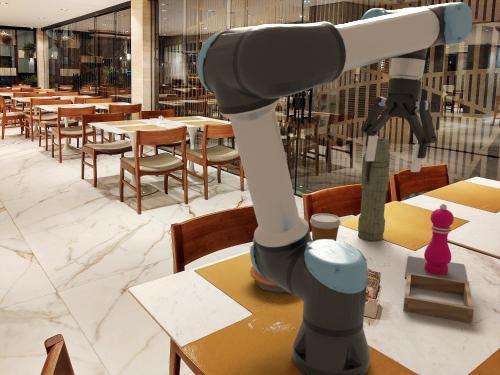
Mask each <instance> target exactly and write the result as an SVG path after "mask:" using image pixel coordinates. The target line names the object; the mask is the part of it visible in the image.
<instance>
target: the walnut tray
mask: <svg viewBox="0 0 500 375" xmlns="http://www.w3.org/2000/svg"><path fill="white" fill-rule="evenodd" d="M405 280H406V282H405V291H404V297H403V298H404V299H403V309H402V310H403V311H404V312H410V313H415V314H419V313H420V314H419V315H425V316H431V317H436V318H441V319H446V318H447V320H452V319H453V321H457V320H458V322H463V323H469V324H472V323H473V316H474V312H475V310H474V309H475V308H474V303H473V298H472V292H471V286H470V283H469V281H467V282H466V281H459V280H453V279H447V278H440V277H434V276H427V275H421V274H414V273H408V272H407V279H405ZM411 287H412V288H416V289H422V288H423V290H429V291H435V292H442V293H447V294H454V295H460V296H462V298H463V305H461V304H457V303H450V302H444V301H438V300H433V299H432V300H431V299H428V298H421V297H417V296H416V297H414V296H410V292H411V291H410V288H411Z"/></svg>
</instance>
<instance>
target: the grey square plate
mask: <svg viewBox="0 0 500 375" xmlns="http://www.w3.org/2000/svg"><path fill="white" fill-rule="evenodd" d="M425 262H427V261H426V259H425V258H424V257H417V256H412V255H411V256H410V255H407V258H406V266H405V268H406V269H405V276H404V279H405V280H407V272H408V273H414V274H421V275H427V276H434V277H440V278H447V279H453V280H459V281H466V282H468V278H467V271H466V267H465V264H464V263H458V262H452V261H450V262H449V263H448V264H447V265H448V272H447V274H444V275H436V274H432V273H429V272H427V271H426V270H425Z"/></svg>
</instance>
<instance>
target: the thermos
mask: <svg viewBox="0 0 500 375" xmlns="http://www.w3.org/2000/svg"><path fill="white" fill-rule="evenodd" d="M366 152H367V147H366V146H365V153H364V154H363V156H362V165H361V166H362V167H361V168H362V169H361V178H360V179H361V180H360V183H361V184H360V185H361V187H360V189H361V191H362V192H361V201H360V202H361V203H360V214H359V217H358V223H357V224H358V225H357V230H358V233H357V237H358V238H359V239H360V240H363V241H365V242H373V243H374V242H382V241H383V240H384V234H385V233H384V232H385V230H386V229H385V227H386V218H385V208H386V196H387V191H388V188H389V178H390V172H389V169H390V160H391V152H390V144H389V139H388V138H386V137H385V136H378V140H377V146H376V153H375V159H374V161H365V159H366Z"/></svg>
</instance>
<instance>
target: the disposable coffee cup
mask: <svg viewBox="0 0 500 375" xmlns="http://www.w3.org/2000/svg"><path fill="white" fill-rule="evenodd" d="M309 223H310V226H311V239H312V240H313V241H316V240H320V239H332V240H334V241H337V238H338V232H339V229H340V228H339V227H340V226H341V223H342V222H341V221H340V217H339V216H337V215H335V214H331V213H315V214H312V215H311V218H310V220H309Z"/></svg>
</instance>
